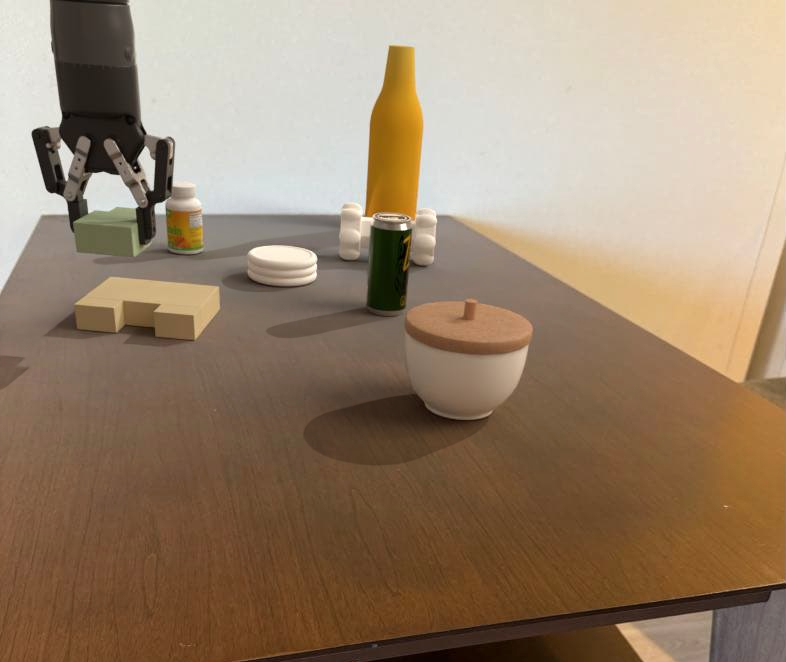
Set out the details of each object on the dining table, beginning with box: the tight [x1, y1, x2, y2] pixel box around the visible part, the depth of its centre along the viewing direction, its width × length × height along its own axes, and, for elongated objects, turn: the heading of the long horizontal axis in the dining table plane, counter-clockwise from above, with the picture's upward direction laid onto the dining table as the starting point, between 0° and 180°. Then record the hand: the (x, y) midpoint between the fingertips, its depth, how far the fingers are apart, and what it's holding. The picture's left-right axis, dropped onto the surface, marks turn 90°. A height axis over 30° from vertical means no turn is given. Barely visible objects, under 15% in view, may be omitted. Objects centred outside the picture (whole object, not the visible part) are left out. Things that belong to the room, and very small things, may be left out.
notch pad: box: [73, 276, 221, 341], centre depth 104 cm, size 14×12×3 cm
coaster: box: [246, 244, 318, 287], centre depth 123 cm, size 10×10×4 cm
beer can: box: [365, 213, 412, 317], centre depth 111 cm, size 5×5×12 cm
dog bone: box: [338, 202, 438, 267], centre depth 134 cm, size 15×9×8 cm, turn 90°
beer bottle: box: [364, 44, 424, 221], centre depth 146 cm, size 9×9×29 cm
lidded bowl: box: [403, 298, 534, 421], centre depth 86 cm, size 13×13×11 cm
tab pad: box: [73, 206, 153, 258], centre depth 90 cm, size 8×6×3 cm
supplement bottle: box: [164, 181, 204, 256], centre depth 130 cm, size 5×5×10 cm
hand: (114, 239), depth 89 cm, fingers closed on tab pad, 6 cm apart
